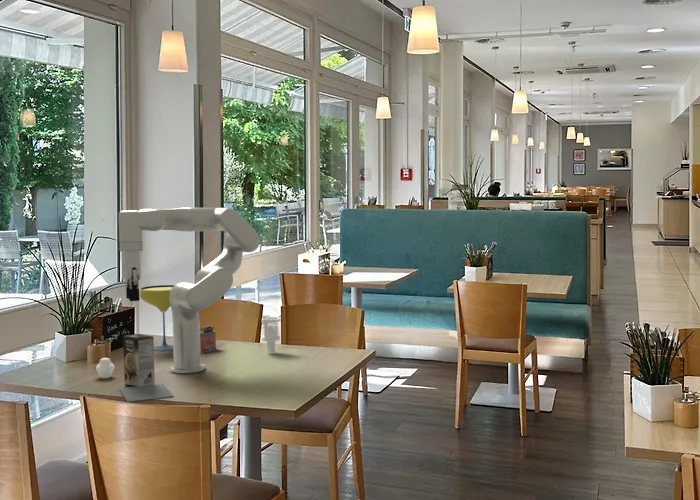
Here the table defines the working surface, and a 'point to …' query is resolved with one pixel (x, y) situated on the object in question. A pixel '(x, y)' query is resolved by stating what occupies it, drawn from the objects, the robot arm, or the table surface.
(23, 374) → the table surface
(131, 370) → the coffee box
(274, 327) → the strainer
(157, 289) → the cocktail glass
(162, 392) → the rubber mat
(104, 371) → the white rounded jar
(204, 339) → the lighter
